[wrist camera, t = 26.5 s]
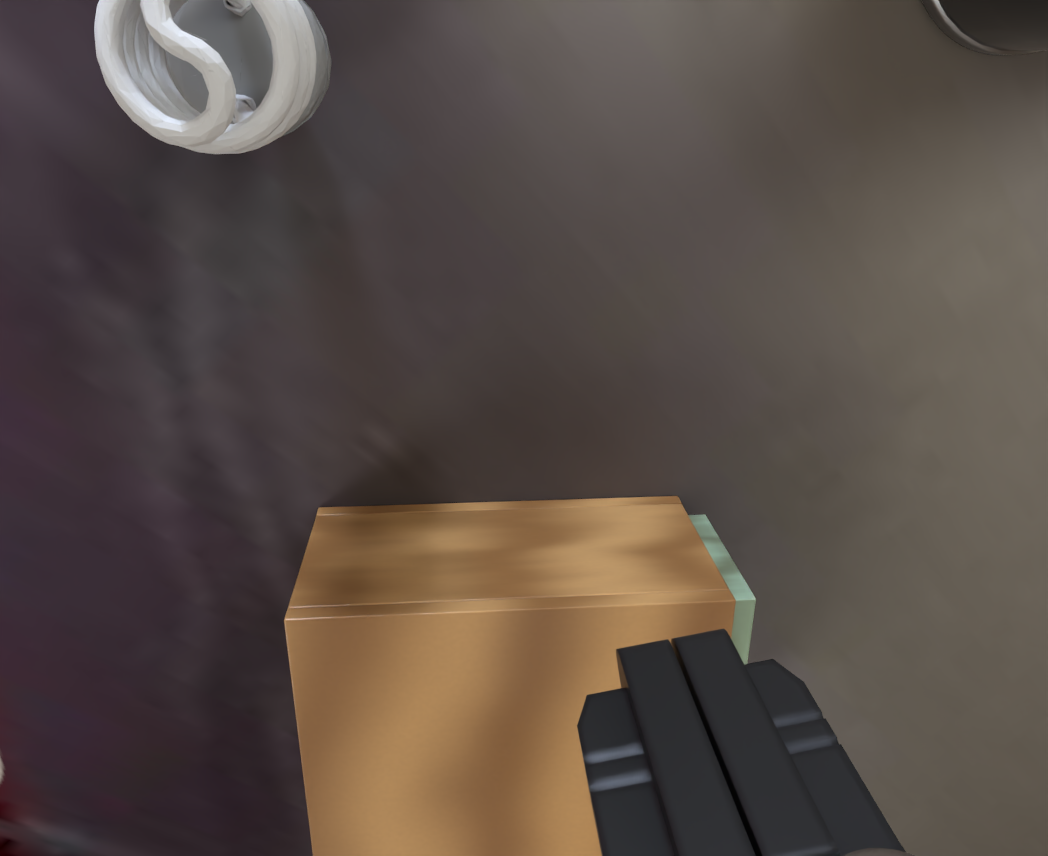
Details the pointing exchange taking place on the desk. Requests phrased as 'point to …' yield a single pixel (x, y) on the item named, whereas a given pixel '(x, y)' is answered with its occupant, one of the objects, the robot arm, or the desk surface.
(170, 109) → the light bulb
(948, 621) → the desk surface
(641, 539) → the cabinet
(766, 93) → the desk surface
